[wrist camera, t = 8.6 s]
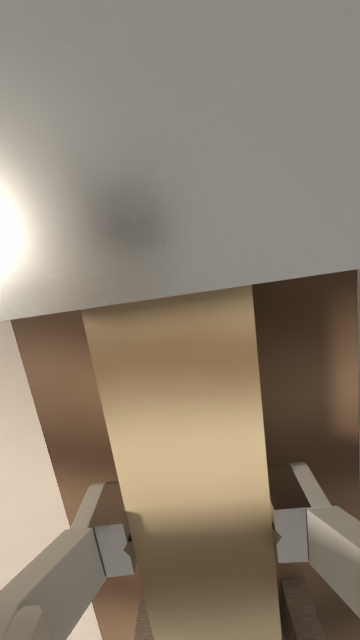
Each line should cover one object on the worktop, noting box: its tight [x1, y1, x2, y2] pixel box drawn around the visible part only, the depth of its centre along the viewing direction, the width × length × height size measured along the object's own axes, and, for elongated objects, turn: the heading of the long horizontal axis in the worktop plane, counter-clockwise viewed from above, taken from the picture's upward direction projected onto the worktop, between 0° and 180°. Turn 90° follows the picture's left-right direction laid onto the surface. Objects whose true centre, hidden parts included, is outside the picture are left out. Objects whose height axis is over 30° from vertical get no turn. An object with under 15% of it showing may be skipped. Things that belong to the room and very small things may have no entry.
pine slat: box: [81, 285, 282, 640], centre depth 9 cm, size 20×4×3 cm, turn 8°
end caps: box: [0, 0, 360, 640], centre depth 8 cm, size 24×7×5 cm, turn 9°
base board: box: [11, 269, 360, 640], centre depth 11 cm, size 25×12×1 cm, turn 9°
